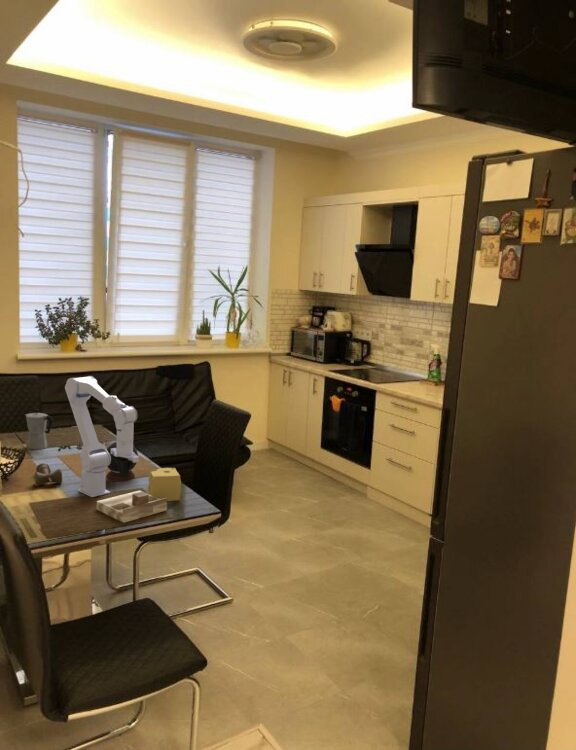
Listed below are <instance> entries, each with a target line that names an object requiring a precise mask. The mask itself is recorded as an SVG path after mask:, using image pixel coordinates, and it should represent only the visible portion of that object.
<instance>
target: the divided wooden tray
mask: <svg viewBox="0 0 576 750" xmlns="http://www.w3.org/2000/svg"><path fill="white" fill-rule="evenodd" d="M139 492H144V491H142V490H140V489H139V490H136V491H132V492H129V493H125V494H124V493H122V494H120V495H116V496H112V497H107V498H105V499H101V500H100V499H99V500H96V510H97V511H99V512H101V513H103V514H105V515H107V516H109V517H110V518H113V519H115V520H117V521H119V522H122V524H125V523H128V522H131V521H134V520H135V521H136V520H138V519H141V518H145V517H148V516H151V515H154V514H158V513H161V512H166V511H167V510H168V501H167V498H163V499H159V498H156V497H154V496H152V495H149V494H148V492H144V493H146V494H148V495H149V501H148V503H145V504H141V505H137V506H133V505H132V494H134V493H139Z"/></svg>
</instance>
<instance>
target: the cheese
mask: <svg viewBox="0 0 576 750" xmlns="http://www.w3.org/2000/svg"><path fill="white" fill-rule="evenodd" d="M181 492H182V480H181V475H180V474H179V472H178V471H177V469H176V467H162V468H157V469H156V470H153V471H152V470H151V471H150V473H149V474H148V485H147V494H149V495H152V496H154V497H156V498H159V499H163V498H167V502H171V501H172V502H173V501H180V498H181V494H182V493H181Z"/></svg>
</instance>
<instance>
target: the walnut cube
mask: <svg viewBox="0 0 576 750" xmlns="http://www.w3.org/2000/svg"><path fill="white" fill-rule="evenodd" d="M146 493H147V492H145V493H144V491H142V492H139V493H134V494H132V505H133V506H137V505H141V504H145V503H148V501H149V495H148V493H147V494H146Z"/></svg>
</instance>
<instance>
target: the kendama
mask: <svg viewBox="0 0 576 750" xmlns="http://www.w3.org/2000/svg"><path fill="white" fill-rule="evenodd" d="M46 483H49V484H52V483H55V484H58V485H62V483H63V473H62V470H61V469H60V468H58V469H56V470H55V471H53V472H51V467H50V466H49V464H48V463H45V462H44V463H43V462H42V463H39V464H38V465H37V466H36V468H35V473H34V484H35V487H37V488H38V487H40V486H42V485H44V484H46Z"/></svg>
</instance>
